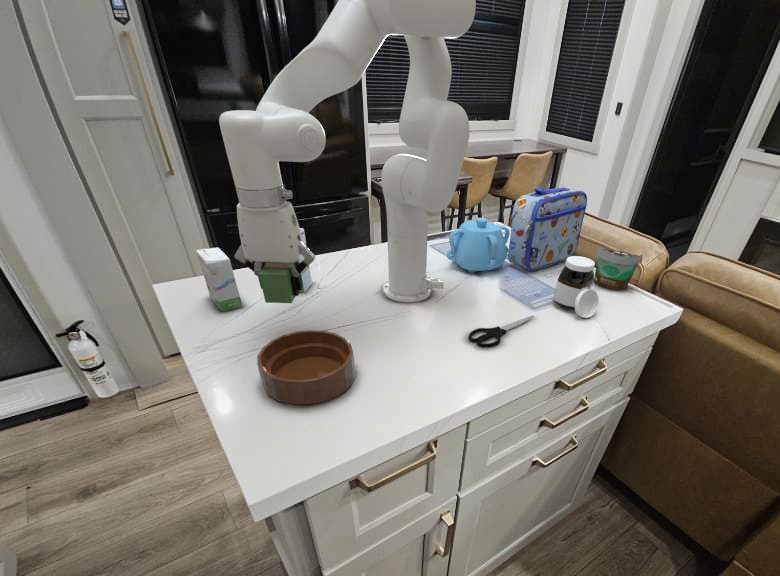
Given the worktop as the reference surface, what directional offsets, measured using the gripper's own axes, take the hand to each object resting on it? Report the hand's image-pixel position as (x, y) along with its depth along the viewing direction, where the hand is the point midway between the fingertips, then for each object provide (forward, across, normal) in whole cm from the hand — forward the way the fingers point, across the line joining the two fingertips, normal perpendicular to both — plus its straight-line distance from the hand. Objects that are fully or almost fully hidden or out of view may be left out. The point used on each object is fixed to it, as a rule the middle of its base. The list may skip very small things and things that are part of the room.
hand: (283, 291), depth 83 cm
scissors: (+11, -47, -5) cm, 48 cm away
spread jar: (+11, -66, -18) cm, 70 cm away
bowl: (+10, -7, +16) cm, 20 cm away
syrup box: (+10, +5, -22) cm, 25 cm away
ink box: (+10, +19, -12) cm, 24 cm away
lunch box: (+12, -64, -47) cm, 80 cm away
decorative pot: (+11, -43, -42) cm, 62 cm away
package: (+1, 0, 0) cm, 1 cm away
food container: (+12, -80, -31) cm, 87 cm away
